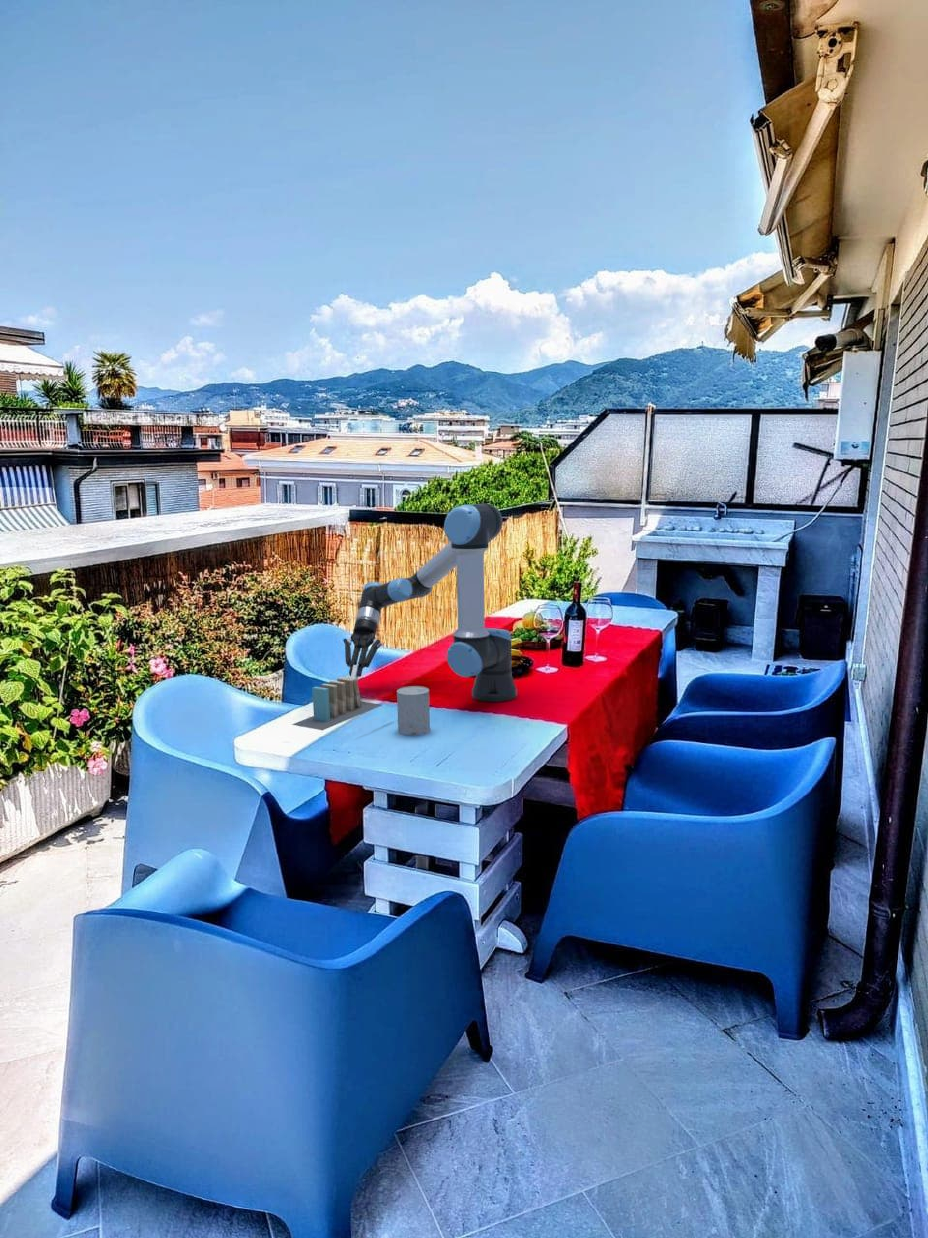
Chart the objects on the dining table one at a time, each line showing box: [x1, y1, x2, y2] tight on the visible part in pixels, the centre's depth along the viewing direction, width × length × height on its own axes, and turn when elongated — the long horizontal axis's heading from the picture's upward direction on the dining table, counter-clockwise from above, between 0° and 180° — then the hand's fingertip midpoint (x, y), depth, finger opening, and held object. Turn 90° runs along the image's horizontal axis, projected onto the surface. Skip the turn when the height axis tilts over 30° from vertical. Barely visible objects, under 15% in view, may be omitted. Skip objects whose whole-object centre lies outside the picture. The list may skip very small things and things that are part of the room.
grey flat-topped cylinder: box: [396, 685, 431, 737], centre depth 251 cm, size 10×10×12 cm
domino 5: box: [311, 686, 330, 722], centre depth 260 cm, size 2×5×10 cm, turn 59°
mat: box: [291, 700, 383, 731], centre depth 266 cm, size 30×12×1 cm, turn 149°
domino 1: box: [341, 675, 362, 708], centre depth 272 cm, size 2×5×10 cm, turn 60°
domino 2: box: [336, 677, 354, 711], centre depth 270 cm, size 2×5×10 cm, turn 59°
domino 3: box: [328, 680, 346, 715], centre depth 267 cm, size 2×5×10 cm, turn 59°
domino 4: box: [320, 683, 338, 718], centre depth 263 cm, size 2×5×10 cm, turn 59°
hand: (352, 684), depth 274 cm, fingers closed
